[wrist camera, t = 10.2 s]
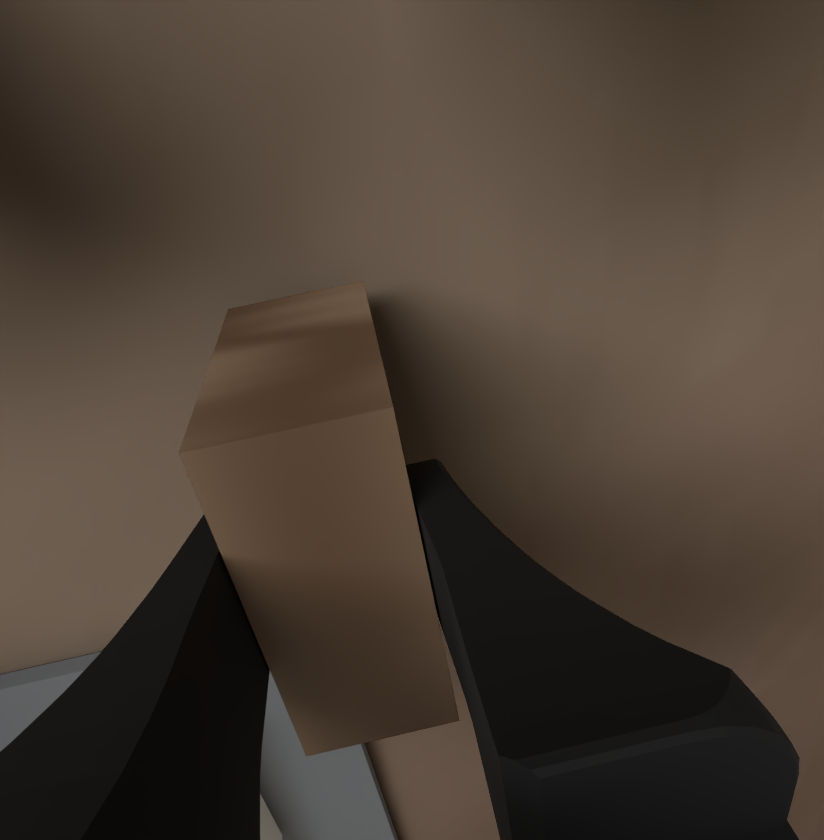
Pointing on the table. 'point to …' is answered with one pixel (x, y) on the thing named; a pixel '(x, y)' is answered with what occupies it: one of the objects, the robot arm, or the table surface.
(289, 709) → the tan cardboard carton
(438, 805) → the table surface
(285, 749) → the mat
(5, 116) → the table surface
